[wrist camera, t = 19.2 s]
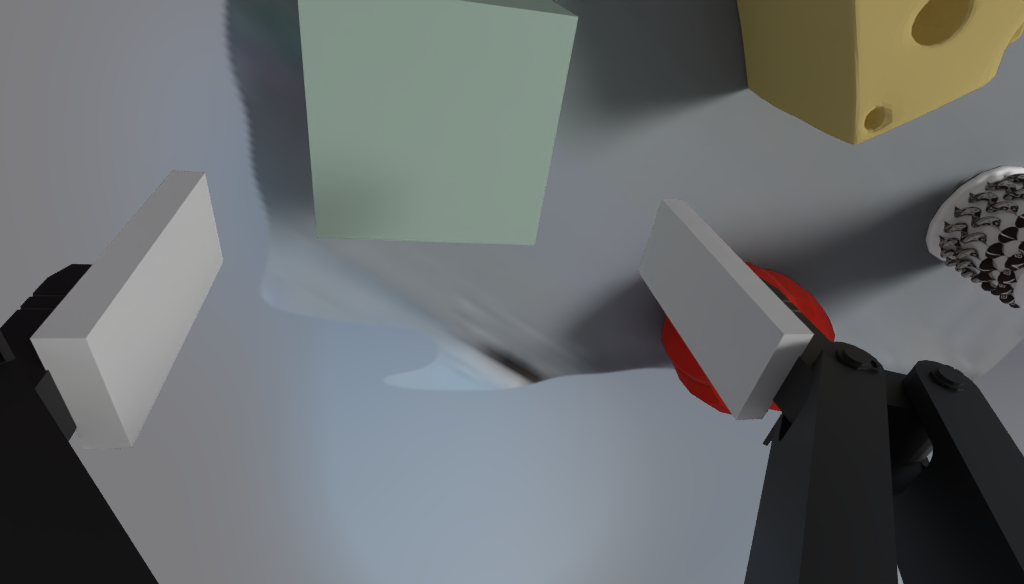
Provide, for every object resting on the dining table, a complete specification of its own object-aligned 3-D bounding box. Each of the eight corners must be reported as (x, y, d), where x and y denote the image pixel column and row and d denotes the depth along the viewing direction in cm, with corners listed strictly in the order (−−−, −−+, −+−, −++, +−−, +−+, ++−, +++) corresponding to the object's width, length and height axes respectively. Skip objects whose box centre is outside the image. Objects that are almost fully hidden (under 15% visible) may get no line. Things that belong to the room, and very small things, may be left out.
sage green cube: (324, -43, 25) (295, -22, 18) (531, -12, 27) (578, 17, 20) (334, 162, 31) (316, 237, 24) (505, 173, 33) (534, 245, 26)
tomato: (772, 335, 47) (840, 413, 39) (641, 362, 46) (687, 447, 38) (798, 232, 40) (886, 303, 33) (648, 261, 39) (704, 341, 32)
